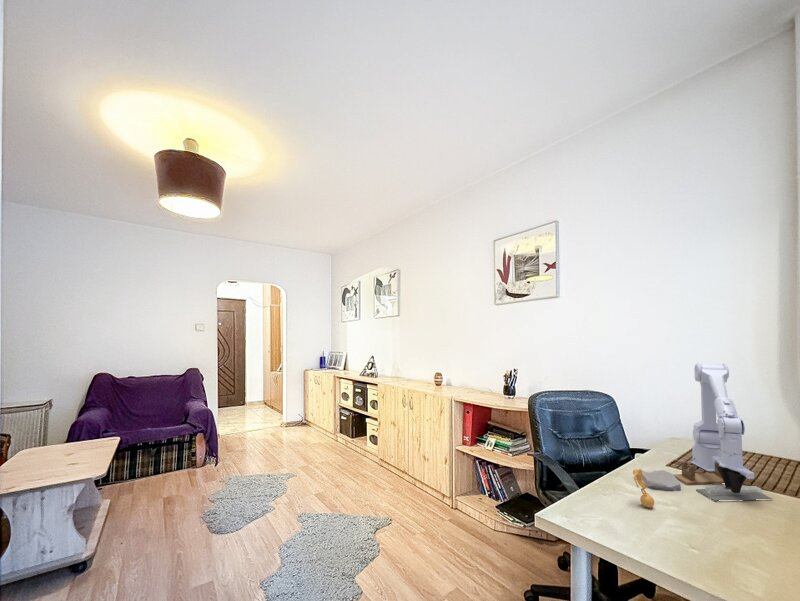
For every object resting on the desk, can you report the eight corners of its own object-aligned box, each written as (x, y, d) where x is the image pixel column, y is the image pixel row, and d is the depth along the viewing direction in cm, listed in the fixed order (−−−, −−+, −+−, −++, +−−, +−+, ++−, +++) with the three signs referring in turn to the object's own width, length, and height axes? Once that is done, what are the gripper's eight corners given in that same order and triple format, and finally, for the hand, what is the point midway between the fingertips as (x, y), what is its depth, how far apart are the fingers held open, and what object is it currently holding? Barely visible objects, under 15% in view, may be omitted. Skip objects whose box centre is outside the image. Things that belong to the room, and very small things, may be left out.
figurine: (650, 513, 125) (648, 476, 125) (629, 506, 130) (628, 470, 130) (658, 504, 130) (657, 468, 131) (638, 498, 135) (637, 463, 135)
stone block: (684, 496, 140) (667, 478, 150) (685, 484, 139) (668, 467, 149) (649, 496, 141) (635, 479, 151) (650, 484, 140) (635, 468, 150)
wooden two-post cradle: (686, 485, 144) (686, 467, 144) (672, 477, 151) (672, 460, 151) (739, 483, 144) (738, 466, 145) (723, 475, 151) (722, 459, 152)
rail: (710, 495, 134) (710, 490, 135) (705, 493, 136) (705, 487, 137) (761, 494, 135) (760, 488, 135) (755, 491, 137) (755, 486, 137)
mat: (696, 490, 139) (696, 489, 139) (750, 489, 140) (750, 487, 140) (714, 502, 131) (714, 500, 131) (772, 500, 132) (772, 498, 132)
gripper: (703, 444, 143) (705, 481, 143) (738, 459, 129) (740, 501, 128) (722, 444, 143) (723, 481, 143) (759, 459, 129) (761, 500, 129)
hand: (732, 490), depth 136 cm, fingers closed on rail, 2 cm apart
